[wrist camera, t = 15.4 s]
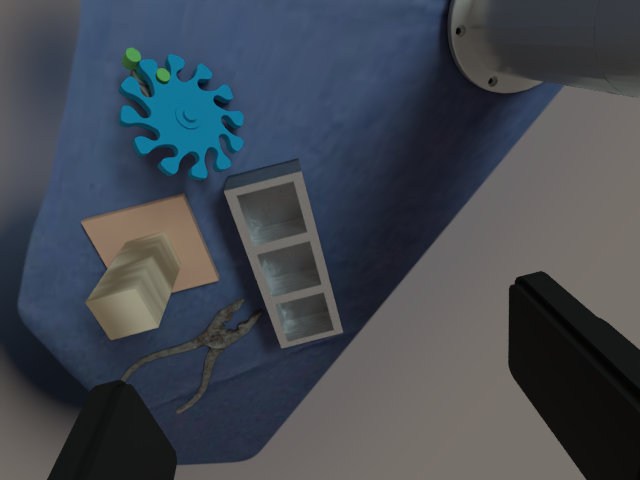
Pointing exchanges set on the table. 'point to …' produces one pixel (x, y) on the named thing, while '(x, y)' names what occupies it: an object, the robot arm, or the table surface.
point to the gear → (178, 114)
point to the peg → (136, 286)
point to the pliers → (212, 337)
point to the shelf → (284, 251)
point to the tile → (152, 219)
